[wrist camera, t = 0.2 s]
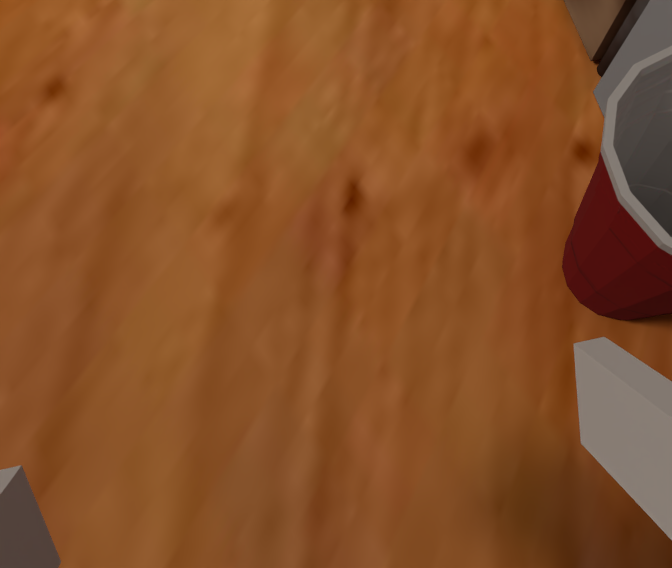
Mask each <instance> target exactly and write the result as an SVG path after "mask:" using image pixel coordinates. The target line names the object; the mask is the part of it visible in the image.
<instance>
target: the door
mask: <svg viewBox="0 0 672 568" xmlns="http://www.w3.org/2000/svg"><path fill="white" fill-rule="evenodd" d="M649 1H650V0H564V2H565V4H566V6H567V9H568V11H569V13H570V15H571V18H572V20H573V22H574V24H575V27H576V29H577V31H578V33H579V36H580V38H581V40H582V42H583V45H584V47H585V49H586V51H587V53H588V56H589V58H590V60H591V61H594V60H599V59H602V60H601V61H600V63H599V65H598V66H597V72H598V74H599V75H600V76H601V77H603V75H604V74H605V72H606V70H607V69H608V67H609V65H610V64H611V62H612V61H613V59H614V57H615V56H616V54H617V53H618V51H619V49H620V48H621V46H622V45H623V43H624V41H625V40H626V38H627V37H628V35H629V33H630V32H631V30H632V28H633V27H634V25H635V24H636V22H637V20H638V19H639V17H640V16H641V14H642V12H643V11H644V9H645V8H646V6H647V4H648V3H649Z"/></svg>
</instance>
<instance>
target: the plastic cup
mask: <svg viewBox="0 0 672 568" xmlns="http://www.w3.org/2000/svg"><path fill="white" fill-rule="evenodd" d="M562 268H563V272H564V275H565V279H566V283H567V286H568V287H569V289H570V290H571V291H572V293H573V294H574V295H575V297H576V298H577V299H578V301H579V302H580V303H581V304H583V305H584V306H586V307H587V308H589V309H590V310H592V311H593V312H595V313H596V314H598V315H602V316H606V317H610V318H614V319H618V320H632V319H640V318H647V317H652V316H656V315H664V314H671V313H672V46H670V47H668V48H666V49H664V50H662V51H660V52H658V53H656V54H654V55H652V56H650V57H648V58H646V59H644V60H642V61H640V62H638V63H636V64H634V65H633V66H632V67H631V69H630V70H629V71H628V73H627V74H626V75H625V77H624V78H623V79H622V81H621V82H620V83H619V85H618V86H617V88H616V89H615V90H614V92H613V93H612V94H611V96H610V97H609V98H608V101H607V105H606V111H605V120H604V128H603V137H602V145H601V152H600V154H599V162H598V164H597V167H596V169H595V172H594V174H593V176H592V179H591V181H590V183H589V186H588V188H587V190H586V193H585V195H584V197H583V200H582V202H581V204H580V207H579V209H578V211H577V214H576V216H575V219H574V225H573V228H572V230H571V232H570V234H569V236H568V239H567V241H566V244H565V250H564V256H563V265H562Z"/></svg>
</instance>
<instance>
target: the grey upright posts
mask: <svg viewBox="0 0 672 568" xmlns="http://www.w3.org/2000/svg"><path fill="white" fill-rule="evenodd" d="M670 46H672V0H650V1H649V3H648V4H647V6H646V8H645V9H644V11H643V12H642V14H641V16H640V17H639V19H638V20H637V22H636V24H635V25H634V27H633V28H632V30H631V32H630V33H629V35H628V37H627V38H626V40H625V41H624V43H623V45H622V46H621V48H620V49H619V51H618V53H617V54H616V56H615V57H614V59H613V61H612V62H611V64H610V65H609V67H608V69H607V70H606V72H605V74H604V75H603V77H602V78H601V80H600V82H599V83H598V85H597V86H596V88H595V90H594V91H593V93H594V95H595V97H596V100H597V102H598V104H599V106H600V109H601V111H602V113H603V116H604V118H605V111H606V105H607V101H608V98H609V97H610V96H611V94H612V93H613V92H614V90H615V89H616V88H617V86H618V85H619V83H620V82H621V81H622V79H623V78H624V77H625V75H626V74H627V73H628V71H629V70H630V69H631V67H632V66H633V65H634V64H636V63H638V62H640V61H642V60H644V59H646V58H648V57H650V56H652V55H654V54H656V53H658V52H660V51H662V50H664V49H666V48H668V47H670Z"/></svg>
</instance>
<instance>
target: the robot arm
mask: <svg viewBox="0 0 672 568" xmlns="http://www.w3.org/2000/svg"><path fill="white" fill-rule="evenodd" d="M574 356H575V370H576V383H577V397H578V411H579V424H580V438H581V444H582V445H583V446H584V447H585V448H586V449H587V450H588V451H589V452H590V453H591V454H592V456H593V457H594V458H595V459H596V460H597V461H598V462H599V463H600V464H601V465H602V466H603V467H604V468H605V469H606V470H607V472H608V473H609V474H610V475H611V476H612V477H613V478H614V479H615V480H616V481H617V482H618V483H619V484H620V485H621V486H622V488H623V489H624V490H625V491H626V492H627V493H628V494H629V495H630V496H631V497H632V498H633V499H634V500H635V501H636V503H637V504H638V505H639V506H640V507H641V508H642V509H643V510H644V511H645V512H646V513H647V514H648V515H649V516H650V517H651V519H652V520H653V521H654V522H655V523H656V524H657V525H658V526H659V527H660V528H661V529H662V530H663V531H664V532H665V533H666V535H667V536H668V537H669V538H670V539H671V540H672V382H671V381H670V380H668V379H667V378H665V377H664V376H662V375H661V374H659V373H658V372H656V371H655V370H653V369H652V368H650V367H649V366H647V365H646V364H644V363H643V362H641V361H640V360H638V359H637V358H635V357H634V356H632V355H631V354H629V353H628V352H626V351H625V350H623V349H622V348H620V347H619V346H617V345H616V344H614V343H613V342H611V341H610V340H608V339H607V338H605V337H601V338H597V339H592V340H588V341H583V342H579V343H574ZM60 563H61V560H60V558H59V556H58V553H57V551H56V548H55V546H54V543H53V541H52V538H51V536H50V534H49V531H48V529H47V526H46V524H45V521H44V519H43V516H42V514H41V512H40V509H39V507H38V504H37V502H36V499H35V497H34V494H33V492H32V490H31V487H30V485H29V482H28V480H27V477H26V475H25V472H24V470H23V468H22V465H21V466H17V467H12V468H8V469H3V470H0V568H58V567H59V565H60Z"/></svg>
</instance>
